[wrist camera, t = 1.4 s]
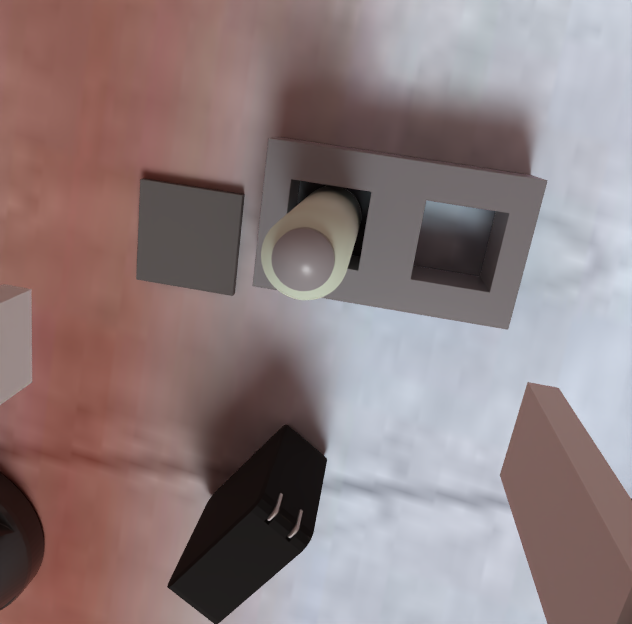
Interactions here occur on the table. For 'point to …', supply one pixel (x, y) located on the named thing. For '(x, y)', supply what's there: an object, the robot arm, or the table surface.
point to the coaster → (189, 236)
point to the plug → (312, 244)
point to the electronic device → (252, 526)
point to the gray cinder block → (410, 227)
